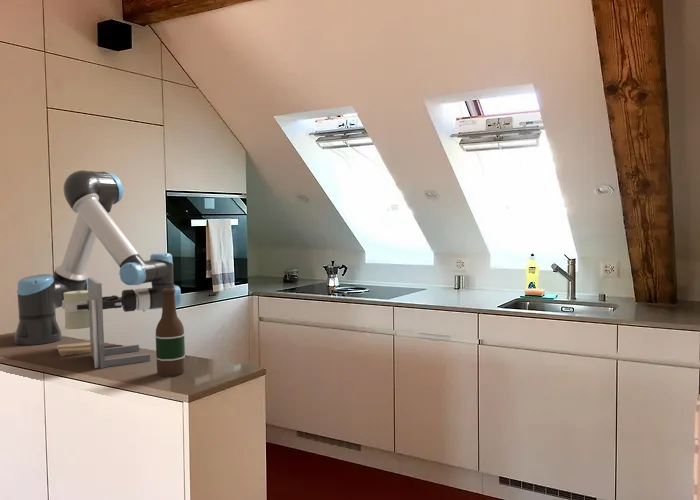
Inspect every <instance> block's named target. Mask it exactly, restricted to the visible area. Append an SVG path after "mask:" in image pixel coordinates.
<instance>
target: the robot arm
mask: <svg viewBox="0 0 700 500" xmlns="http://www.w3.org/2000/svg"><path fill="white" fill-rule="evenodd" d="M63 195H64V198H65V200H66V202H67V204H68V206H69V207H70V209H71V210H72V211H73V213H76V214H77V217H76V219H75V223H74V226H73V229H72V232H71V235H70V238H69V241H68V244H67V247H66V250H65V253H64V255H63V259H62V262H61V264H60V265H58V266H56V267H55V268H54V272H53V275H52V274H49V273H43V274H40V273H39V274H35V275H29V276H25V277H22V278H20V279H19V280H18V282H17V290H16V294H17V306H18V307H17V308H18V324H17V327H16V330H15V334H14V340H13V341H14V344H15V345H20V346H29V345H30V346H32V345H43V344H49V343H53V342H54V343H55V342H57V341H61V340H62V331H61V328H60V326H59V324H58V322H57V319H56V309H59V308H62V310H64V312H65V311H66V312H76V311H87V309H88V310H89V300H88V304H87V302H81V303H70V304H65V306H64V294H63V293H65V292H71V291H84V290H88V278H89V277H88V274H87V273H86V271H87V270H86V269H87V266H88V264H89V262H90V261H89V260H90V258H91V255H92V252H93V249H94V247H95V243H96V241H97V240H96V239H98V241H99V242H100V243H101V244H102V246H103V247H104V249H105V250H106V251H107V252H108V253H109V255H110V257H112V260H114V261H115V263H116V264H117V265H118V267H119V272H118V274H119V277H120V280H121V282H122V283H123V284H125V286H126V285H127V286H139V285H144V284H146V283H151V287H145V288H144V287H143V288H135V289H133V288H132V289H123V290H122V292H121V296H117V295H110V296H102V307H103V310H108V309H121V308H122V310H123V312H125V313H126V312H127V313H128V312H135V311H142V312H146V310H158V309H162V302H163V294H162V290H163V289H166V288H173V289H175V293H174V294H175V304H176V307H179V306H180V304H181V302H182V293H181V292H182V291H181V288H180V286H178V285H176V284H175V282H174V262H173V255H172V254H171V253H169V252H168V253H167V252H160V253H159V252H158V253H152V254H151V255H150V257H149V258H150V259H149V260H148V259H147V260H144V259H143V257H141V255H140V253H139V252H138V251H137V250H136V249H135V247H134V246H133V245H132V243H131V242H130V241H129V239H128V238H127V237H126V235H125V234H124V233H123V231H122V230H121V229H120V227H119V226H118V225H117V223H116V221H114V220H113V218H112V217H111V215H110V212H111V211H112V207H113V205H116V204H117V203H119V202H121V200H122V198H123V196H124V186H123V183H122V181H121V179H120V178H119V177H118V176H117V175H115V174H114V173H112V172H106V171H93V170H77V171H73V172H72V173H70V174H69V175H68V176H67V178H65V181H64V184H63Z"/></svg>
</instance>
